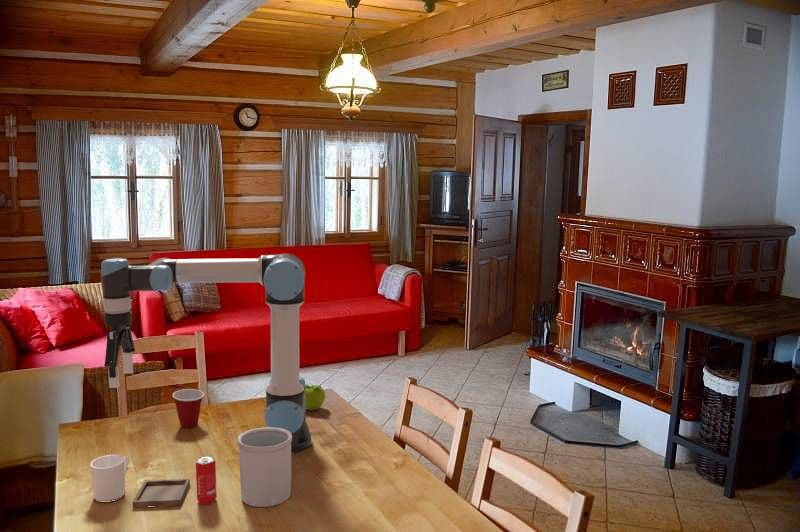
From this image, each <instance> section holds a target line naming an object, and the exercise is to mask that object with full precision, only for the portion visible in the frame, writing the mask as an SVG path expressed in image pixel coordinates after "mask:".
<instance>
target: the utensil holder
mask: <svg viewBox="0 0 800 532" xmlns="http://www.w3.org/2000/svg"><path fill="white" fill-rule="evenodd" d="M291 441H292V434H291V433H290V432H289V431H287V430H285V429H281V428H273V427H267V426H266V427H257V428H252V429H248V430H246V431H244V432H242V433H241V434H240V435H238V437H237V445H238V457H239V458H238V459H239V480H240V481H239V482H240V497H241V500H242V502H243V503H244V504H246V505H247V506H251V507H255V508H256V507H257V508H268V507H273V506H277V505H280V504H283V503H285V502H286V501H287V500H288V499H289V498H290V496H291V489H292V486H291V484H292V453H291Z"/></svg>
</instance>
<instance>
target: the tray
mask: <svg viewBox="0 0 800 532" xmlns="http://www.w3.org/2000/svg"><path fill="white" fill-rule="evenodd" d="M190 486H191V479H190V478H180V479H179V478H178V479H174V478H173V479H172V478H171V479H150V480H146V479H145V480H144V482H143V483H142V485H141V487H140V488H139V490H138V492H137V493H136V495H135V497H134V499H133V500H132V501H131V502H132V503H131V504H132V508H133V507H148V506H173V507H181V506H182V503H183V501H184V499H185V497H186V495H187V492H188V490H189V488H190ZM148 508H149V507H148Z"/></svg>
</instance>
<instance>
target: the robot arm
mask: <svg viewBox="0 0 800 532" xmlns="http://www.w3.org/2000/svg"><path fill="white" fill-rule="evenodd" d="M100 264H101V267H100V269H101V270H100V272H101V273H100V278H101V289H102V300H101V304H103V311H104V313H103V321H104V325H106V326H107V327H109V328H110V331H107V332H106V346H105V347H106V348H105V357H104V358H105V359H104V365H103V366H104V368H105V367H106V368H107V370H108V371H107V373H108V375H107V376H108V388H109V389H119V388H120V371H119V365H118V361H119V355H120V350H121V348H122V350H123V352H122V368H123V370H122V371H123V374H134V361H133V352H134V353H135V352H136V348H135V343H134V340H133V339H134V338H133V335H132V330H131V325H130V324H131V323H132V318H133V317H132V311H131V309H132V303H131V292H162V291H163V292H164V291H168V290H170V289H171V288H172V285H173V284H186V283H187V284H191V283H192V284H193V283H194V284H195V283H196V284H197V283H201V284H203V283H205V284H206V283H207V284H211V283H216V284H217V283H260V285H261V286H264V289H265V291H264V292H265V299H264V300H265V304H266V305H268V307H269V308H270V380H269V385H268V386H266V389H265V401H266V402H265V412H264V415H263V416H264V417H263V418H264V422H265V424H266V427H273V428H281V429H285V430H287V431H289V432H290V433H291V434H292V441H291V454H292V453H297V452H298V453H299V452H302V451H304V450H307V449H308V448H310V446H311V445H312V434H311V431H310V429H309V426H308V423H307V417H306V416H307V415H306V414H307V413H306V410H307V409H306V397H305V387H306V385H307V384H306V380H305V378H304V377H302V376H300V307H301V306H302V305H303V304H305V280H306V279H305V278H306V268H305V264H304V262H303V261H302V260H301V258H299V257H298V256H296V255H294V254H292V253H279V254H262V255H260V256H259V257H258V258H188V259H187V258H185V259H184V258H183V259H182V258H181V259H180V258H179V259H172V258H168V257H162V258H161V257H160V258H157V259H155V260H153V261H152V262H151V263H149V264H147V265H130V264H129V260H128V259H127V258H118V257H117V258H107V259H104V260H102V262H101V263H100ZM305 384H306V385H305Z"/></svg>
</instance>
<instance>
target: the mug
mask: <svg viewBox="0 0 800 532" xmlns="http://www.w3.org/2000/svg"><path fill="white" fill-rule="evenodd" d="M129 459H130V458H129V457H128V456H127V455H120V454H107V455H102V456H98V457H97V458H95V459H93V460H91V462H90V464H89V465H90V472H91V479H92V489H93V499H94V498H95V499H94V501H95V500H97V501H112V500H116V499H118V498H120V497H121V496H123V495H124V494H125V495H126V480H125V479H126V475H127V471H128V467H129V466H128V465H129V464H130V463H129V462H130V461H129ZM125 495H124V496H125ZM124 496H123V497H124ZM97 501H96V502H97Z"/></svg>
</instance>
